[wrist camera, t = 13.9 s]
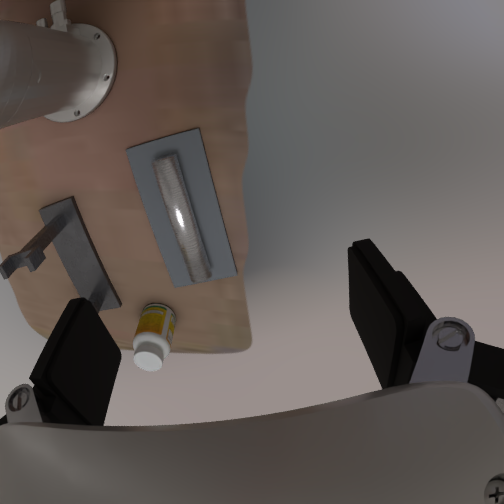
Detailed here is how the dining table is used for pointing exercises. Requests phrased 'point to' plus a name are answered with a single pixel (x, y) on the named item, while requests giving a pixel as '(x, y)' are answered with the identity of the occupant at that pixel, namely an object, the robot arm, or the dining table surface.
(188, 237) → the grey metallic bar
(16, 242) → the dining table surface
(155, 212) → the slate mat
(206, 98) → the dining table surface
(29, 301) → the dining table surface
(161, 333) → the supplement bottle
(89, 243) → the hook stand
